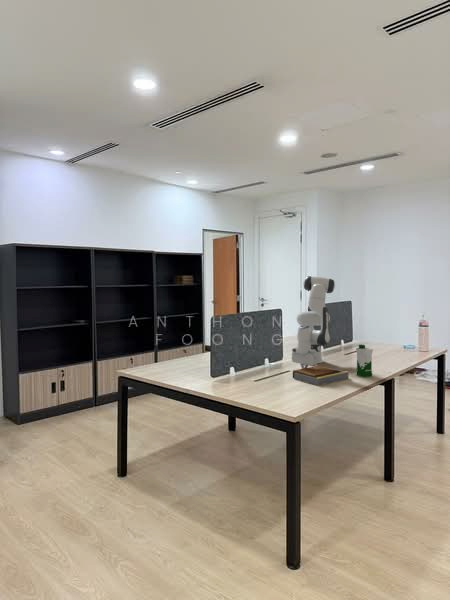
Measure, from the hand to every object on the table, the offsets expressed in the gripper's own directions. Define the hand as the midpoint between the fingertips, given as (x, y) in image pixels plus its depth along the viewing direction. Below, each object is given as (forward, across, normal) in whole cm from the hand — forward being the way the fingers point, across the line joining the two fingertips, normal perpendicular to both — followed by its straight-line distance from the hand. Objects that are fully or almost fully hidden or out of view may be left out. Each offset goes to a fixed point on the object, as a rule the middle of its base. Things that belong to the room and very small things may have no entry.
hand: (304, 370), depth 280 cm
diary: (+4, -11, +1) cm, 11 cm away
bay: (+3, -14, 0) cm, 14 cm away
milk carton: (+3, -26, -28) cm, 39 cm away
